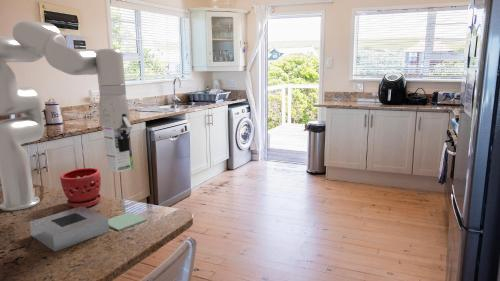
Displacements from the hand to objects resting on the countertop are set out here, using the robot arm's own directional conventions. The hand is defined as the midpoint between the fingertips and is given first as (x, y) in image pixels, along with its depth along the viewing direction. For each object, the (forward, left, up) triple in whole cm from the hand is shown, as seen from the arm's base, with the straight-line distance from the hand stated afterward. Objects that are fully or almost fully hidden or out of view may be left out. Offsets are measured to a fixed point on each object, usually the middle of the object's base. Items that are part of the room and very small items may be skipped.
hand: (118, 149), depth 118 cm
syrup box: (0, 0, -7) cm, 7 cm away
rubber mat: (0, 0, -24) cm, 24 cm away
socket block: (-5, -15, -24) cm, 29 cm away
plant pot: (-27, 0, -24) cm, 36 cm away
